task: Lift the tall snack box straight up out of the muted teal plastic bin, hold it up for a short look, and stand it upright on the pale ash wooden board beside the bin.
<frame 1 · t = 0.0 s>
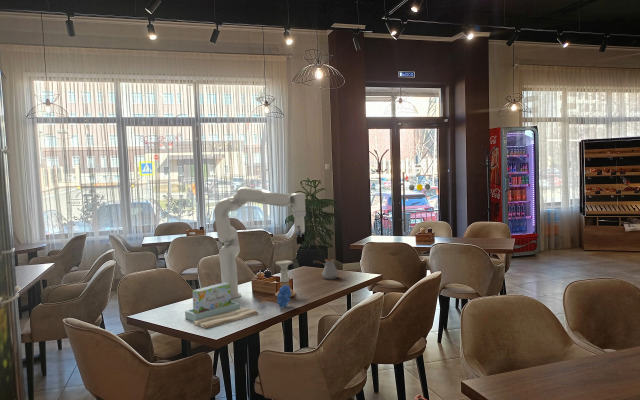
hand: (300, 242, 273), 31 cm above the table, tool pointing down, fingers open, 9 cm apart
bin: (213, 314, 243), on the table
candle holder: (285, 295, 276), on the table
coffee pot: (325, 279, 314), on the table
snack box: (213, 315, 243), resting in bin
board: (226, 318, 233), on the table
grapes: (283, 307, 251), on the table
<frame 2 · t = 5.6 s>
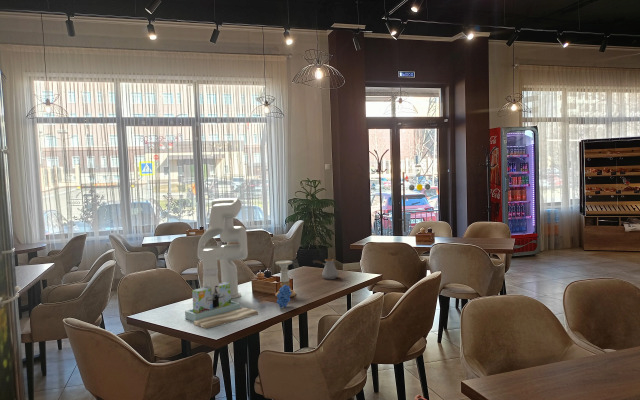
hand: (212, 305, 242), 5 cm above the table, tool pointing down, fingers closed on snack box, 6 cm apart
snack box: (213, 314, 242), resting in bin, touching gripper
everything else where it was.
when the fingers open (7 cm above the table, at t = 12.9 s): snack box drops 1 cm, resting on board.
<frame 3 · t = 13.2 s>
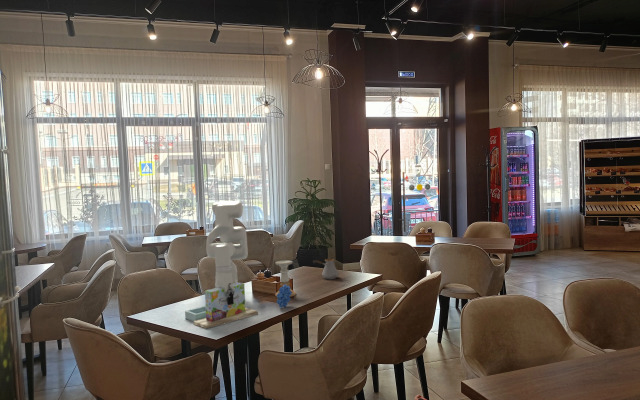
hand: (225, 303, 233), 8 cm above the table, tool pointing down, fingers open, 8 cm apart
snack box: (226, 316, 233), point 1 cm above the table, touching board
everything else where it was.
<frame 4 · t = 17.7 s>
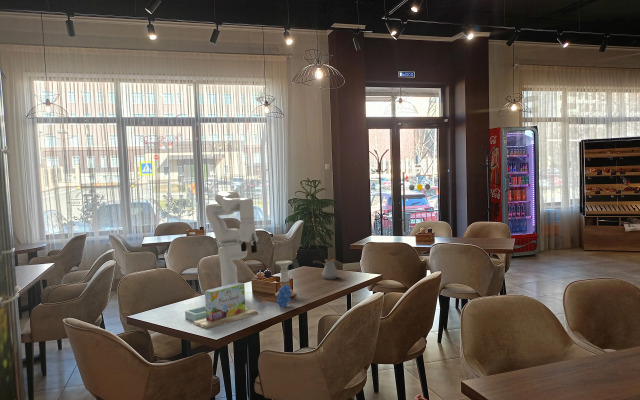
hand: (249, 251, 253), 30 cm above the table, tool pointing down, fingers open, 9 cm apart
nothing on the table moved.
at the end: snack box inside the target area on the board (0.1 cm from its centre), point 1.3 cm above the board's base; snack box tilted 0°; the gripper is holding nothing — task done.
